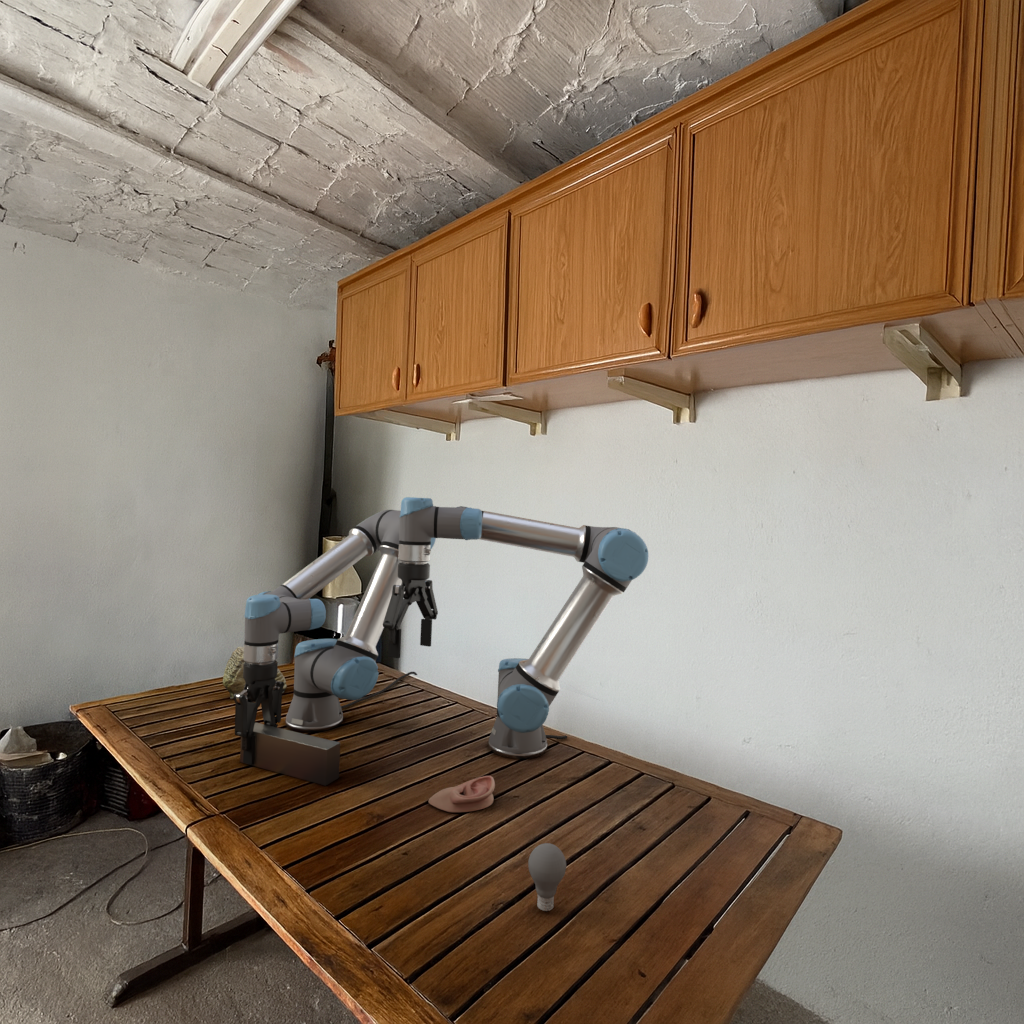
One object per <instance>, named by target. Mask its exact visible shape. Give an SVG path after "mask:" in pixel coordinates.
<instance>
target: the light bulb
mask: <svg viewBox="0 0 1024 1024" xmlns="http://www.w3.org/2000/svg"><path fill="white" fill-rule="evenodd" d="M527 865H528V872H529V875H530V876H531V879H532V881H533V883H534V884H535V892H536V894H537V903H536V906H537V908H538V909H539V910H540V911H544V912H548V911H549V912H550V911H551V910H554V905H555V901H554V899H555V895H556V893H557V890H558V886H559V885H560V883H561V882H562V880H563V878H564V877H565V875H566V871H567V861H566V857H565V855H564V852H563V851H562V850H561V849H560V848H559V847H558V846H557V845H556V844H553V843H550V842H549V843H548V842H545V843H541V844H538V845H537V846H535V848H533V850H532V851H531V852H530V854H529V857H528V862H527Z"/></svg>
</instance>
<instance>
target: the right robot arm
mask: <svg viewBox="0 0 1024 1024" xmlns="http://www.w3.org/2000/svg"><path fill="white" fill-rule="evenodd" d="M400 511H401V512H400V529H399V551H398V560H399V561H401V562H400V563H399V564H398V578H399V579H401V580H402V583H401V585H393V589H392V596H391V599H390V602H389V606H388V609H387V612H386V615H385V618H384V622H383V627H384V629H388V656H387V657H388V658H393V659H400V658H401V649H402V648H401V647H402V646H401V645H402V644H401V643H402V629H401V628H400V627H401V625H402V622H403V620H404V618H405V616H406V614H407V611H408V609H409V607H410V606H411V605H412V604H413V603H416V604H417V607H418V609H419V611H420V613H421V615H422V617H423V618H421V619H420V636H419V637H420V638H419V639H420V641H419V645H420V646H421V647H432V635H433V620H435V621H436V620H437V617H438V614H439V612H438V611H439V610H438V607H437V602H436V598H435V594H434V589H433V580H431V579H430V575H431V564H430V563H429V562H430V561H431V553H432V549H431V550H430V545H431V538H436V539H449V540H465V541H470V540H471V541H472V540H474V541H476V540H479V541H487V542H491V543H497V544H503V545H507V546H513V547H517V548H522V549H523V548H524V549H529V550H534V551H539V552H546V553H550V554H554V555H555V554H556V555H562V556H566V557H572V558H574V560H575V561H576V562H577V563H578V562H579V563H583V564H582V565H581V569H582V577H581V579H580V580H579V582H578V583H577V585H576V586H575V588H574V589H573V591H572V592H571V594H570V595H569V597H568V599H567V600H566V601H565V603H564V604H563V606H562V607H561V609H560V611H559V612H558V614H557V616H555V619H554V620H553V621H552V623H551V624H550V626H549V627H548V629H547V631H546V632H545V633H544V635H543V637H542V638H541V639H540V641H539V643H538V644H537V645H536V647H535V649H534V650H533V652H532V653H531V655H530V656H529V658H522V657H521V658H519V657H518V658H503V659H501V660H500V662H499V664H498V669H497V672H498V677H497V679H498V680H497V701H496V718H495V721H494V723H493V726H492V729H491V731H490V734H489V736H488V749H489V751H491V752H492V753H494V754H495V755H498V756H500V757H503V758H507V759H508V758H509V759H514V760H515V759H516V760H526V759H527V760H528V759H534V758H538V757H540V756H542V755H544V754H546V753H547V751H548V739H552V740H567V739H568V736H566V735H554V734H546V732H545V728H544V724H545V722H546V720H547V718H548V716H549V712H550V706H551V704H552V703H553V701H554V700H555V698H556V697H557V695H558V694H559V692H560V691H561V687H560V679H561V677H562V675H563V674H564V672H565V671H566V670H567V668H568V666H569V665H570V663H571V662H572V660H573V659H574V657H575V656H576V654H577V652H578V651H579V650H580V648H581V647H582V645H583V643H584V642H585V641H586V639H587V637H588V636H589V634H590V633H591V632H592V630H593V628H594V627H595V625H596V624H597V622H598V621H599V620H600V618H601V616H602V615H603V613H604V612H605V610H606V608H607V607H608V606H609V604H610V603H611V601H612V600H613V598H614V597H615V596H619V595H623V594H624V593H625V591H626V590H627V588H628V587H629V586H630V584H631V583H632V581H634V580H635V579H637V578H639V577H640V576H641V575H642V574H643V572H644V571H645V570H646V568H647V566H648V562H649V558H650V557H649V549H648V546H647V544H646V542H645V540H644V539H643V538H642V537H641V536H640V535H638V534H637V533H636V532H635V531H633V530H631V529H629V528H623V527H617V526H591V525H586V524H583V525H581V526H580V527H577V526H576V527H575V526H569V525H564V524H558V523H553V522H547V521H542V520H537V519H531V518H526V517H520V516H515V515H509V514H504V513H498V512H493V511H486V510H482V509H481V508H474V507H467V506H461V505H460V506H456V507H454V506H451V507H450V506H436V505H434V501H433V499H432V498H431V497H414V496H413V497H411V496H406V497H403V498H402V500H401V502H400Z"/></svg>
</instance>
